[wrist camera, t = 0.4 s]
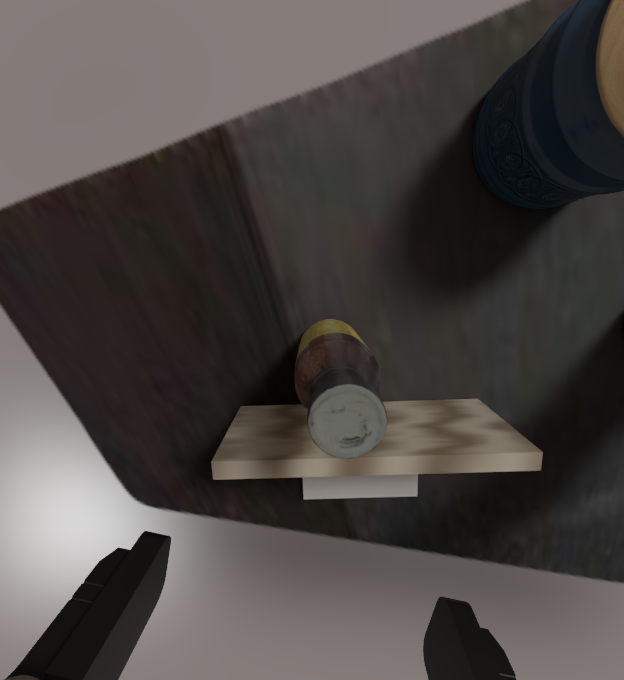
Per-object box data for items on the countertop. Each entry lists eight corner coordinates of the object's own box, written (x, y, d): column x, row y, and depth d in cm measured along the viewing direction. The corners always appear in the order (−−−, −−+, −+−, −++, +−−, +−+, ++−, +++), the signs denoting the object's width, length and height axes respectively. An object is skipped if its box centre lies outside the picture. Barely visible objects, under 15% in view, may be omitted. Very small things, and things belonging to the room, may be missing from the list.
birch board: (477, 398, 37) (543, 452, 27) (476, 412, 38) (540, 470, 27) (240, 406, 38) (211, 461, 27) (241, 419, 38) (213, 479, 28)
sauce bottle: (347, 380, 37) (383, 505, 18) (292, 363, 37) (267, 472, 17) (367, 323, 36) (429, 391, 16) (310, 305, 36) (304, 353, 16)
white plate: (417, 428, 38) (419, 431, 37) (415, 491, 40) (417, 496, 39) (300, 432, 38) (300, 435, 38) (303, 494, 40) (303, 499, 39)
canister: (584, 221, 34) (868, 173, 16) (454, 201, 33) (603, 131, 16) (628, 70, 31) (1027, -179, 14) (487, 47, 31) (711, -237, 13)
